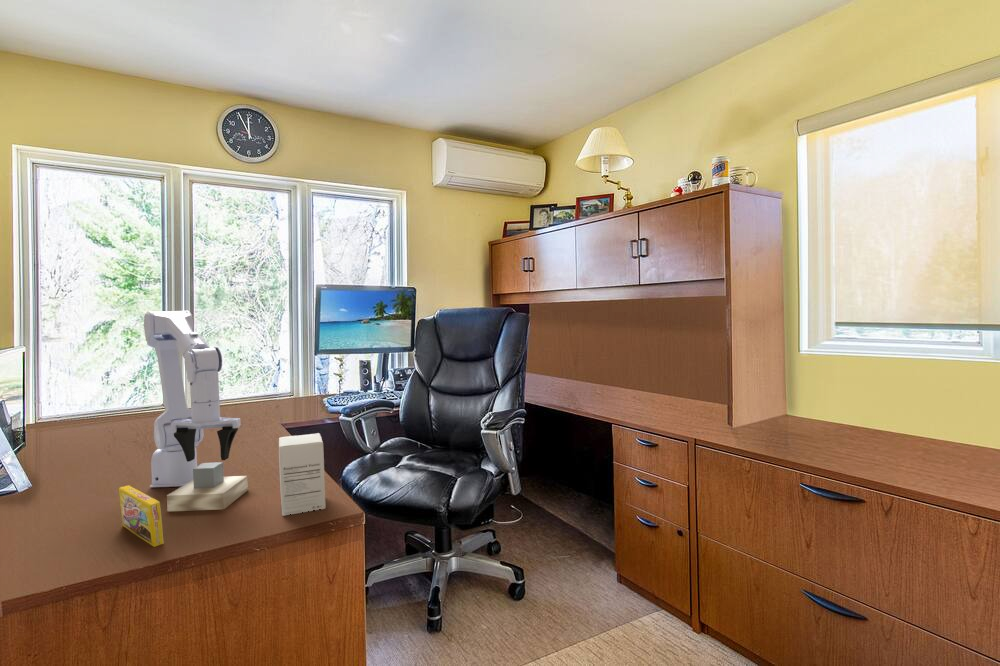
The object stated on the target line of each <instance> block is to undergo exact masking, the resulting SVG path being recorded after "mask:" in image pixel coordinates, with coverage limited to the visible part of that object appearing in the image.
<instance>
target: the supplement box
mask: <svg viewBox="0 0 1000 666" xmlns="http://www.w3.org/2000/svg"><path fill="white" fill-rule="evenodd" d="M324 454H325V453H324V442H323V439H322V436H321V433H319V432H317V433H309V434H301V435H300V434H299V435H288V436H287V435H286V436H281V437H279V438H278V465H279V466H278V467H279V468H278V469H279V488H280V489H279V490H280V501H281V505H280V506H281V516H283V517H285V516H291V515H296V514H297V515H298V514H302V512H303V513H308V511H309V512H313V510H315V511H320V510H319V509H321V510H325V509H326V507H327V506H326V486H325V485H326V484H325V483H326V482H325V480H326V479H325V459H324V457H325V456H324ZM290 514H291V515H290Z"/></svg>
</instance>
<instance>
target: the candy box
mask: <svg viewBox="0 0 1000 666" xmlns="http://www.w3.org/2000/svg"><path fill="white" fill-rule="evenodd" d="M118 495H119V505H120V513H121V522H122V523H121V524H122V527H124V528H125V529H127V530H128V531H130V532H131V533H132V534H134V535H135V536H137V537H138V538H139V539H142V540H143V541H145V542H146V543H147V544H149V545H150V546H152V547H153V548H155V547H158V546H161V545H164V543H165V541H164V533H163V531H164V530H163V522H162V520H163V519H162V509H161V502H160V501H159V500H158V499H155V498H153V497H152V496H149V495H148V494H145V493H144V492H142V491H140V490H139V489H137V488H134V487H132V485H130V484H128V485H125V486H120V487H119V488H118Z"/></svg>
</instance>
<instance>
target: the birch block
mask: <svg viewBox="0 0 1000 666" xmlns="http://www.w3.org/2000/svg"><path fill="white" fill-rule="evenodd" d="M248 491H249V482H248V475H231V476H229V475H228V476H224V481H223V482H222V483H220V484H219V485H217V486H216V487H215V488H194V483H193V480H192V481H190V482H188V483H187V484H185V485H183V486H179V487H178V488H177V489H175V490H173V491H172V492H170V493H168V494H166V504H167V505H166V507H167V509H166V511H167V512H187V511H189V512H191V511H210V510H211V511H212V510H214V511H216V510H226V508H227V507H229V506H230V505H231V504H232V503H234V502H235V501H236V500H237V499H240V497H242V495H243V494H245V493H246V492H248Z"/></svg>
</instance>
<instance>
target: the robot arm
mask: <svg viewBox="0 0 1000 666" xmlns="http://www.w3.org/2000/svg"><path fill="white" fill-rule="evenodd" d="M143 329H144V330H143V331H144V336H145V341H146V345H147V346H148V347H151V348H154V350H155V353H156V354H155V355H156V359H157V365H158V372H159V377H160V385H161V390H162V391H161V392H162V397H163V405H164V411H163V412H162V413H161V414H159V416H158V417H157V418H156V419H154V422H153V426H154V429H153V438H154V439H153V440H154V445H155V446H156V450H155V451H154V452H153V453H152V456H151V460H150V466H151V468H150V470H151V484H150V485H149V487H150V488H169V487H182V486H183V485H185V484H187V483H188V482H190V481H192V480H193V468H195V467H197V466H198V459H197V458H198V457H197V447H199V443H201V442H202V440H203V439H204V433H205V432H204V429H219V430H217V431H216V434H217V436H218V440H219V447H220V449H219V450H220V461H226V460H228V459H229V457H230V452H231V447H232V444H233V441H234V439H235V437H236V434H237V432H238V431H239V428H240V427H241V425H242V422H241V421H242V420H241V418H240V417H234V418H233V417H221V408H220V407H221V402H220V386H219V385H220V381H219V373H220V372H221V371H222V368H223V356H222V352H221V350H220V349H219V347H218V346H210V345H209V344H208V342H206V340H205V339H204V337H203V336H202V335H201V334H199V333H198V332H197V331H193V329H194V318H193V315H192V312H190V311H189V310H188V309H187V310H175V311H174V310H171V311H169V310H166V311H163V310H162V311H161V310H160V311H159V310H158V311H151V310H147V312H146V313H145V314H144V318H143ZM179 353H180V355H181V356H182V357H183V359H184V369H185V371H186V379H187V382H188V383H189V391H190V392H189V393H190V394H189V396H190V408H189V407H188V405H187V401H186V400H187V399H186V393H185V388H184V381H183V373H182V367H181V362H180V361H181V360H180V355H179Z"/></svg>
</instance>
